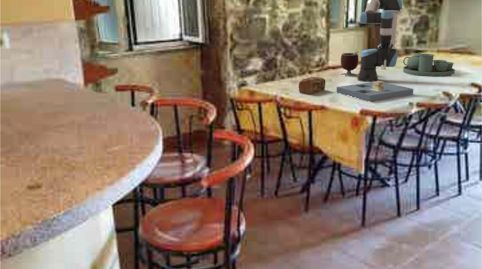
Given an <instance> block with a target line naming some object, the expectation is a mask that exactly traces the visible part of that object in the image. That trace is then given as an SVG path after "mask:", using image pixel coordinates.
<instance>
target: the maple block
mask: <svg viewBox="0 0 482 269" xmlns="http://www.w3.org/2000/svg"><path fill="white" fill-rule="evenodd" d="M372 82H373V86H372V89H374V90H383V88H384V81H380V80H377V81H372Z"/></svg>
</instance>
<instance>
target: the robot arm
mask: <svg viewBox="0 0 482 269" xmlns="http://www.w3.org/2000/svg"><path fill="white" fill-rule="evenodd" d="M378 10H382V11H378ZM401 10H403V0H367V2H366V8H365V11H363V12H360V14H359V23H360V24H366V25H367V24H373V25H374V24H377V25H379V24H380V30H379V34H380V35H379V41H380V42H379V45H377V46H376V48H369V49H364V50H362V51H361V55H360V68H359V73H358V75H357V78H356V79H357V80H358V81H360V82H374V81H379V78H378V73H377V67H380V70H382V71H386V69H387V68H394V67H396V65H397V61H398V56H399V51H397V48H396V46H395V45H396V38H397V37H396V34H397V24H398V14H399V13H401Z"/></svg>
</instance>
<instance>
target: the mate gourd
mask: <svg viewBox="0 0 482 269" xmlns="http://www.w3.org/2000/svg"><path fill="white" fill-rule="evenodd" d="M340 65H341V67H342V69H344V70H345V71H346V72H343V73H341V74H340V75H341V76H342V75H345V76H344V77H357V76H358V75H357V73H354V72H353V73H352V71H353V70H356V69H357V67H358V65H359V51H356V52H344V53H341V56H340Z"/></svg>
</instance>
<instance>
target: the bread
mask: <svg viewBox="0 0 482 269" xmlns="http://www.w3.org/2000/svg"><path fill="white" fill-rule="evenodd" d="M325 88H326V79H325V78H323V77H320V76H310V77H307V78H303V79H301V80H300V81H299V82H298V91H299V92H298V93H301V94H307V95H312V94H316V93H320V92H323V91H325Z"/></svg>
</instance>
